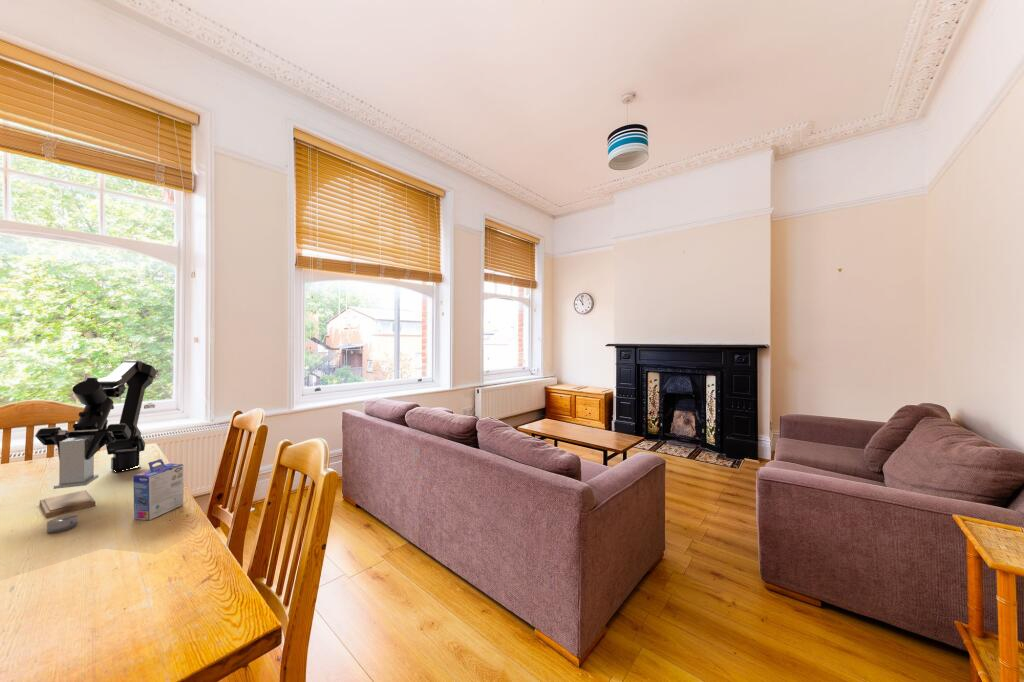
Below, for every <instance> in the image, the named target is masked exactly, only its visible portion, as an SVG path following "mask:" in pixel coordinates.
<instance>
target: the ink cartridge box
mask: <svg viewBox="0 0 1024 682" xmlns="http://www.w3.org/2000/svg"><path fill="white" fill-rule="evenodd" d="M157 463H158V464H157ZM159 463H160V464H159ZM155 464H157V465H155ZM153 465H155V466H153ZM148 466H149V470H146V471H143V472H141V473H138V474H137V473H136V474H133V476H132V477H133V480H132V481H133V483H132V484H133V518H134V520H143V521H151V520H153V519H155V518H158V517H159V516H162V515H163V514H167V513H168V512H171V511H172V510H175V509H177V508H179V507H181V506H183V505H184V464H183V463H172V462H171V463H165V462H164V460H163V459H162V458H159V459H157V460H153V461H149V462H148Z"/></svg>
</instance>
